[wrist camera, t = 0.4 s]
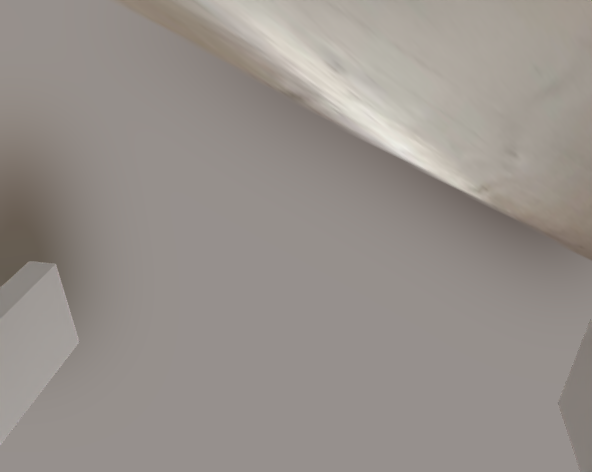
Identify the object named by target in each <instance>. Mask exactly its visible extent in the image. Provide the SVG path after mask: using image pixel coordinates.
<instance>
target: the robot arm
mask: <svg viewBox="0 0 592 472" xmlns="http://www.w3.org/2000/svg"><path fill="white" fill-rule="evenodd" d="M78 343H79V339H78V336H77V332H76V329H75V326H74V323H73V319H72V316H71V313H70V309H69V306H68V303H67V299H66V296H65V293H64V289H63V286H62V283H61V280H60V276H59V273H58V270H57V266H56V264H52V263H42V262H32V261H29V262H28V263H27V264H26V265H25V266H24V267H23V268H21V269H20V270H19V271H18V272H17V273H16V274H15V275H14V276H13V277H12V278H10V279H9V280H8V281H7V282H6V283H5V284H4V285H3V286H2V287H1V288H0V445H1V444H2V442H3V441H4V440H5V438H6V437H7V436H8V435H9V433H10V432H11V431H12V429H13V428H14V427H15V425H16V424H17V423H18V421H19V420H20V419H21V418H22V416H23V415H24V414H25V412H26V411H27V409H28V408H29V407H30V406H31V405H32V403H33V402H34V401H35V399H36V398H37V396H38V395H39V394H40V393H41V391H42V390H43V389H44V388H45V386H46V385H47V384H48V382H49V381H50V379H51V378H52V377H53V376H54V374H55V373H56V372H57V371H58V369H59V368H60V367H61V365H62V364H63V363H64V361H65V360H66V359H67V357H68V356H69V355H70V353H71V352H72V351H73V350H74V348H75V347H76V346H77V344H78ZM558 405H559V408H560V411H561V414H562V417H563V420H564V424H565V426H566V429H567V433H568V436H569V439H570V441H571V445H572V448H573V451H574V454H575V457H576V460H577V463H578V466H579V470H580V472H592V320H590V322H589V324H588V327H587V330H586V332H585V334H584V337H583V340H582V342H581V345H580V347H579V350H578V353H577V355H576V358H575V360H574V363H573V365H572V368H571V371H570V373H569V376H568V378H567V381H566V383H565V386H564V389H563V391H562V394H561V396H560V399H559V402H558Z"/></svg>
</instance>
